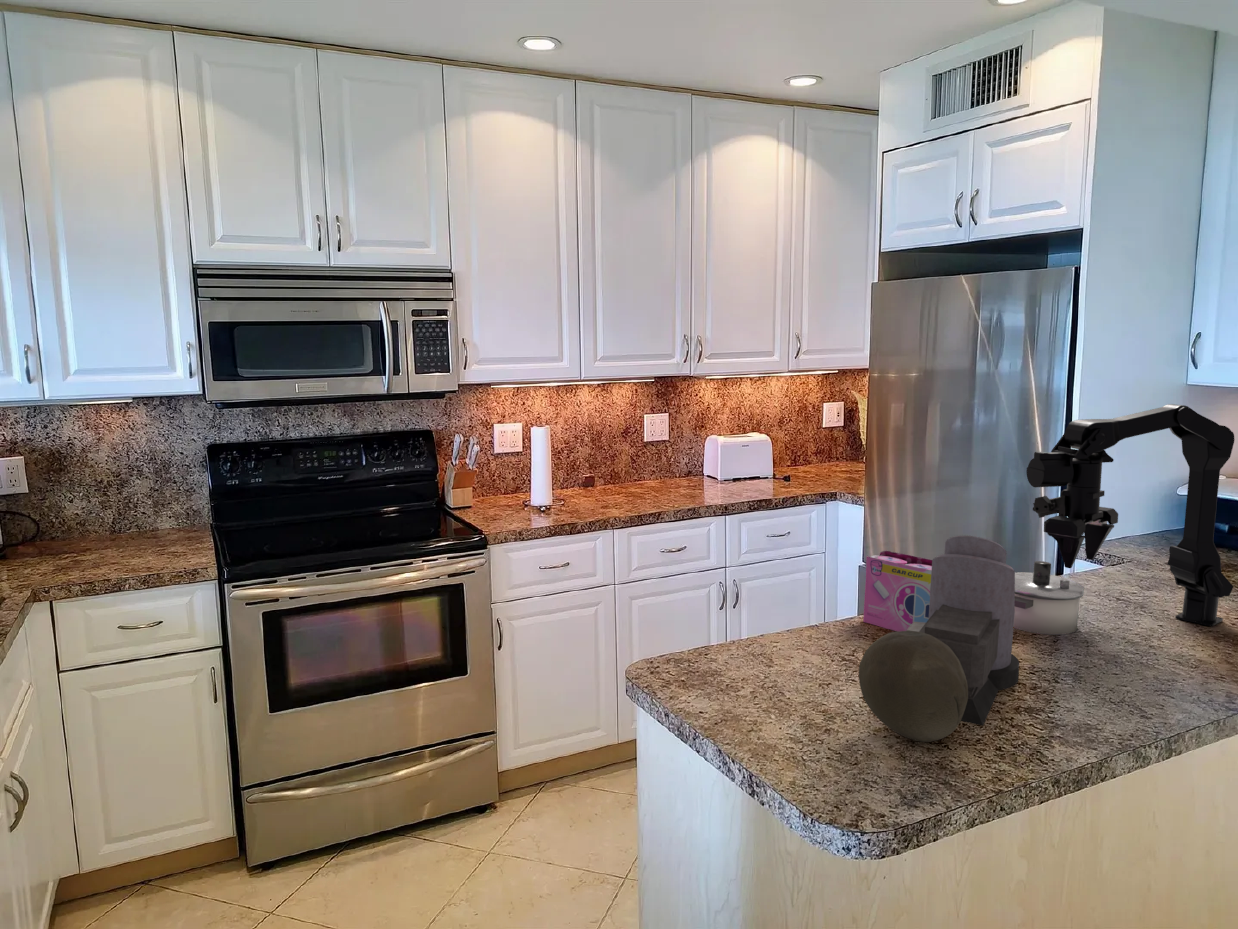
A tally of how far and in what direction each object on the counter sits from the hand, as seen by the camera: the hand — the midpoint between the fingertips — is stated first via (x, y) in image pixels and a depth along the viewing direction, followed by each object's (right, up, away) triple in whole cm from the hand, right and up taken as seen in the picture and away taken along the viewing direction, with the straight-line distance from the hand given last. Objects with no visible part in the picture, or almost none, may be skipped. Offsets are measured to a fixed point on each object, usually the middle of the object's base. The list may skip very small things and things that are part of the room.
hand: (1079, 563), depth 166 cm
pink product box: (-32, -13, -4) cm, 34 cm away
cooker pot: (-7, -12, +2) cm, 14 cm away
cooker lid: (-7, -5, +1) cm, 9 cm away
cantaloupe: (-50, -19, -47) cm, 71 cm away
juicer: (-35, -17, -28) cm, 47 cm away
